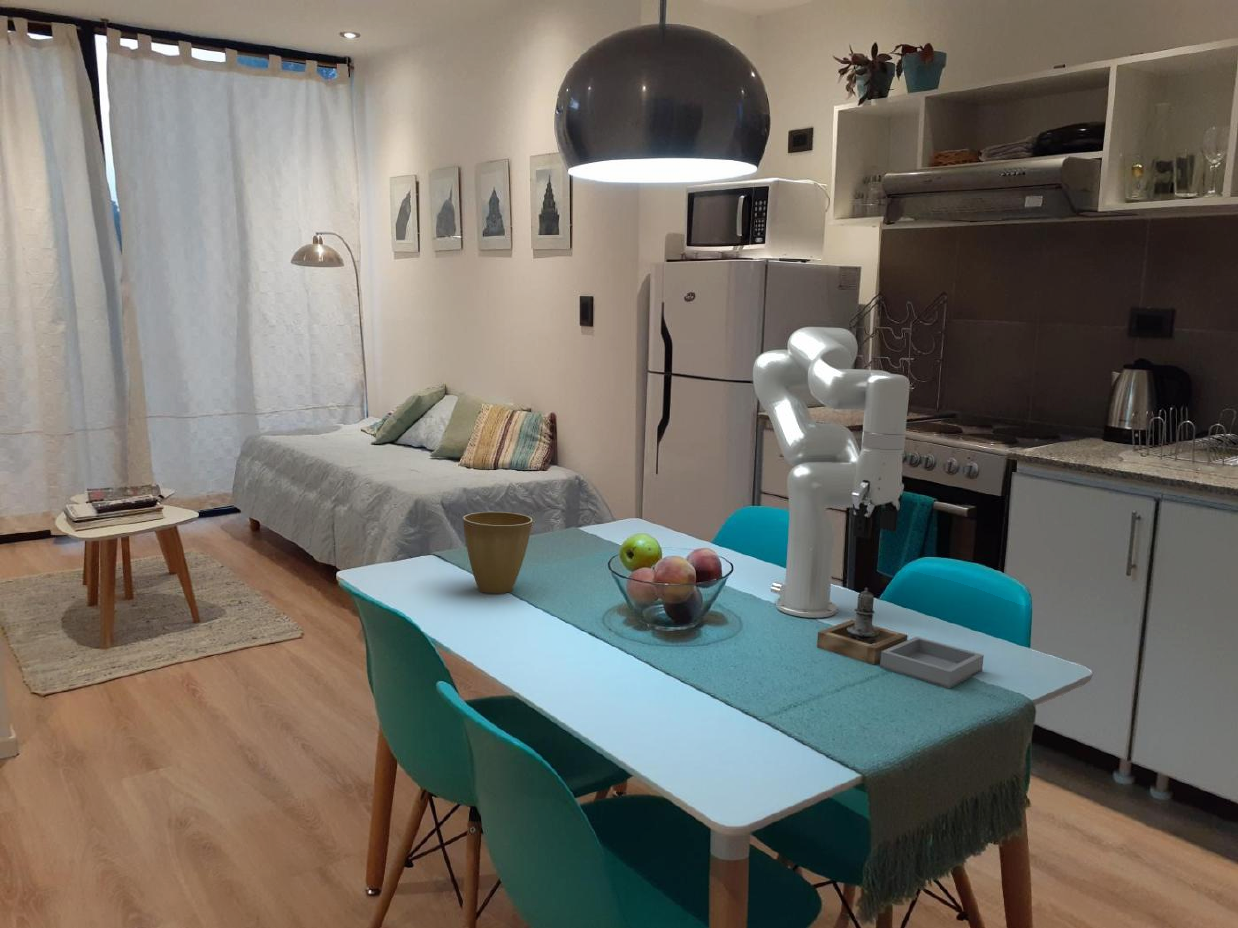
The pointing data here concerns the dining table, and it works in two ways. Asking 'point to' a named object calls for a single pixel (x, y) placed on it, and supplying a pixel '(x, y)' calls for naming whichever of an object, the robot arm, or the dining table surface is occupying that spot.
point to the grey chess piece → (864, 619)
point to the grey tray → (932, 662)
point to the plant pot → (496, 548)
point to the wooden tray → (858, 642)
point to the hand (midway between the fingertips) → (875, 533)
